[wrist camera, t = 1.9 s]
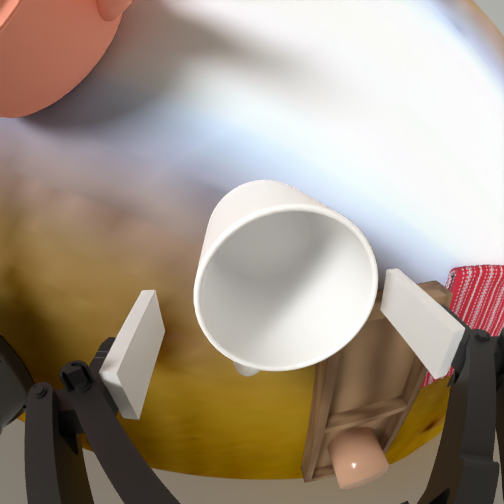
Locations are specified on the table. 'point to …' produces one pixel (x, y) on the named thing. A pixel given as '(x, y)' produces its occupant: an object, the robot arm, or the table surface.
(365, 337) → the caddy
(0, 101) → the teapot
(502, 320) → the dish towel
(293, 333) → the mug
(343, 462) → the peach rounded cylinder
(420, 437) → the table surface
